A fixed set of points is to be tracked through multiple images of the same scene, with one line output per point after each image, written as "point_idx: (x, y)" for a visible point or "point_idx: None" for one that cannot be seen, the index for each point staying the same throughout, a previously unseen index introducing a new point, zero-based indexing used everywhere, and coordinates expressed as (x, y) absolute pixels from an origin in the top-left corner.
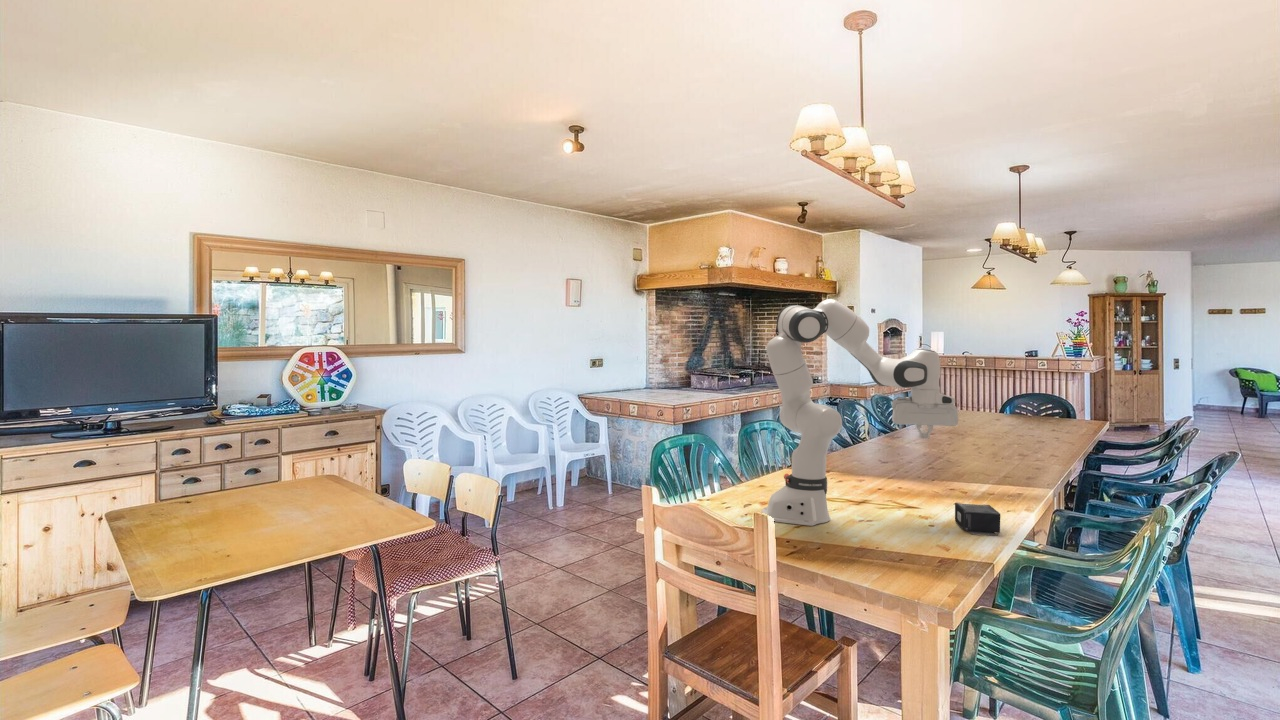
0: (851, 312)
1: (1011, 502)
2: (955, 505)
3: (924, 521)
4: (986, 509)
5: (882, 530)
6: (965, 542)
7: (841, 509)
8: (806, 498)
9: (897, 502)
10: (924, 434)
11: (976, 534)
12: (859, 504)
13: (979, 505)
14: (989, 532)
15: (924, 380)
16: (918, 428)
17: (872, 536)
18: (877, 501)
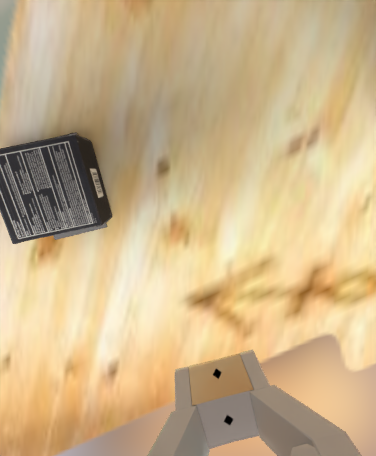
0: None
1: (3, 429)
2: (101, 218)
3: (177, 195)
4: (17, 185)
5: (268, 74)
6: (88, 56)
7: (351, 213)
8: None
9: (231, 324)
10: (224, 387)
11: (65, 135)
12: (311, 271)
13: (38, 226)
14: None
15: None
16: (325, 433)
17: (292, 9)
18: (272, 313)
